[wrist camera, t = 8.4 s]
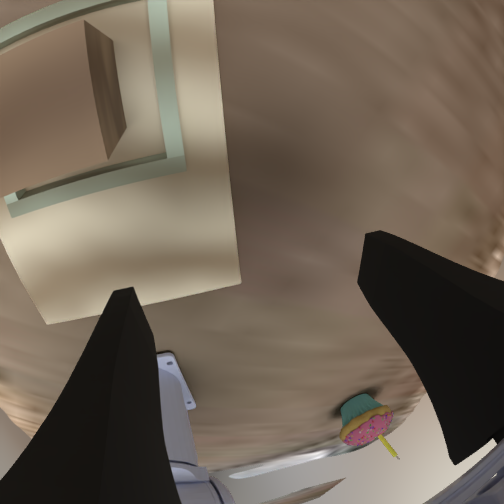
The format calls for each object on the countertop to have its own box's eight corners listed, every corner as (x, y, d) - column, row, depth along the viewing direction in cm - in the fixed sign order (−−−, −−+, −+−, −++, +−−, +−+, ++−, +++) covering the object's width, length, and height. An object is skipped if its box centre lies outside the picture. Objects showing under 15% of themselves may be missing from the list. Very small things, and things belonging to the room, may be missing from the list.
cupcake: (385, 379, 40) (425, 441, 30) (366, 407, 44) (397, 463, 35) (337, 396, 37) (376, 467, 28) (321, 423, 42) (352, 485, 32)
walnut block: (126, 127, 13) (107, 160, 8) (45, 153, 12) (-8, 201, 7) (113, 40, 10) (83, 19, 5) (27, 71, 9) (-38, 78, 5)
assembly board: (237, 274, 21) (246, 295, 19) (49, 314, 18) (44, 337, 16) (208, -17, 11) (215, -30, 9) (-36, 62, 8) (-57, 64, 6)
